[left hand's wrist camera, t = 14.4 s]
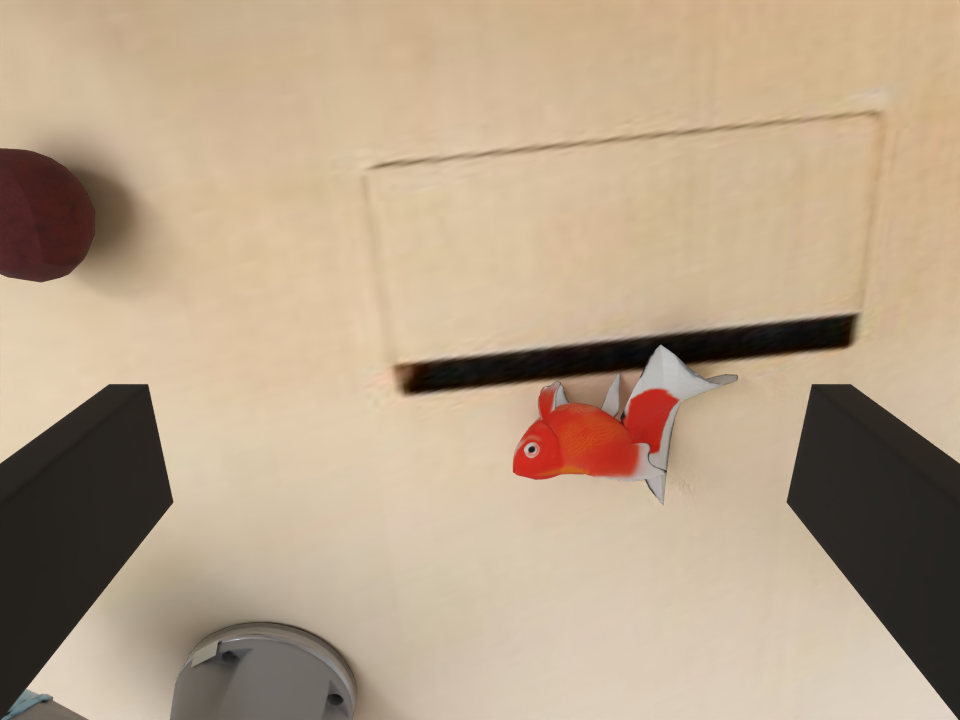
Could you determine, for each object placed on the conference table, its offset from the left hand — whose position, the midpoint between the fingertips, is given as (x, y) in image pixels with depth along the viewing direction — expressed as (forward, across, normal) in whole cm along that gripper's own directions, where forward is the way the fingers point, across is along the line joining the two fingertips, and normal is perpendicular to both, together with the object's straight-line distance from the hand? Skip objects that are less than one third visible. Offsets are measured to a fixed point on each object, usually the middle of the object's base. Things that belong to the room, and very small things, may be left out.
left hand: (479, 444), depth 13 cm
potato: (+30, +27, -1) cm, 40 cm away
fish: (+30, -10, +12) cm, 33 cm away
